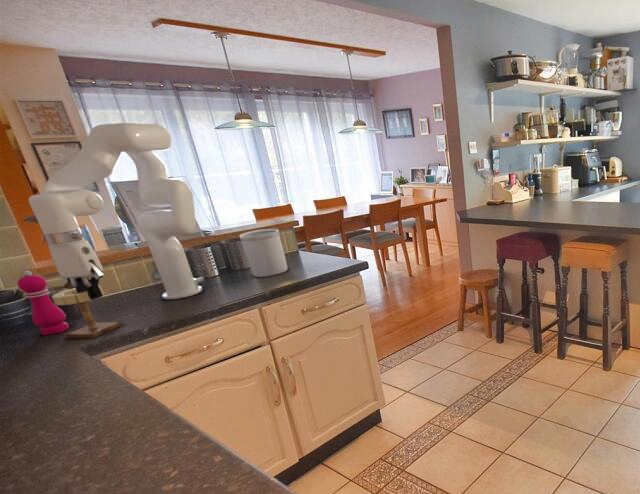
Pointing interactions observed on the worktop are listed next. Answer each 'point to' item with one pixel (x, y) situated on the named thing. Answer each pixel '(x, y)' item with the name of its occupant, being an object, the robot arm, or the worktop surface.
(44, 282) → the pepper mill
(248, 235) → the utensil holder
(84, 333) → the wooden peg stand
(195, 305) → the worktop surface
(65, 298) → the tape
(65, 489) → the worktop surface
